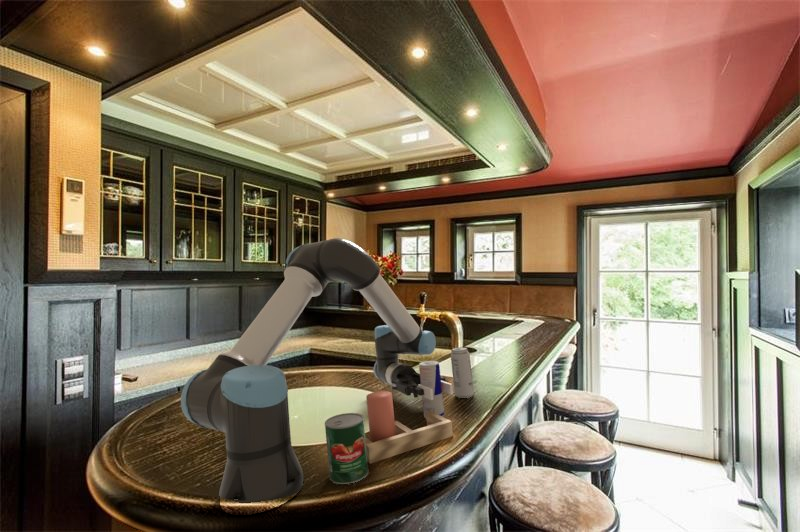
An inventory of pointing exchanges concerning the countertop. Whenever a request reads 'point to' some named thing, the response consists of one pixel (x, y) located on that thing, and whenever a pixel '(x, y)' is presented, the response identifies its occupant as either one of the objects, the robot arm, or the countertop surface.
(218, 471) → the countertop surface
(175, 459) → the countertop surface
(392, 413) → the plug
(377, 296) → the robot arm
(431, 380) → the beverage can
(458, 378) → the energy drink can
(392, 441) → the holder
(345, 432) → the canned tomato
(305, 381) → the countertop surface
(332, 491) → the countertop surface
